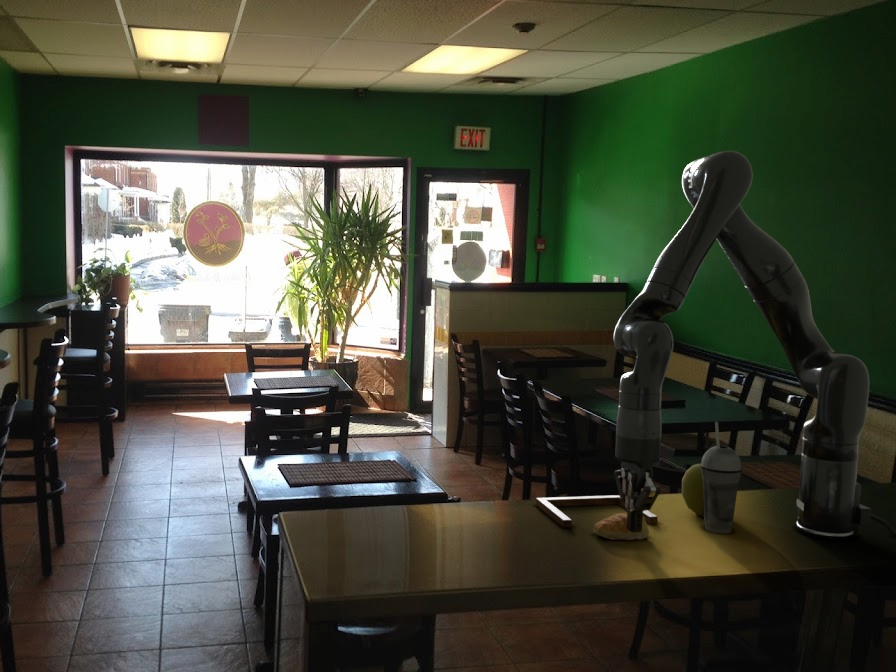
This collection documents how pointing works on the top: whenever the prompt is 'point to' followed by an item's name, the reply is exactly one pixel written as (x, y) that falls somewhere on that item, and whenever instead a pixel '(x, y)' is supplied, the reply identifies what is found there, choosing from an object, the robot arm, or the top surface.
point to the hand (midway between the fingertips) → (634, 530)
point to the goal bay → (565, 521)
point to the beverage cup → (720, 486)
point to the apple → (693, 489)
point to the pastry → (619, 528)
